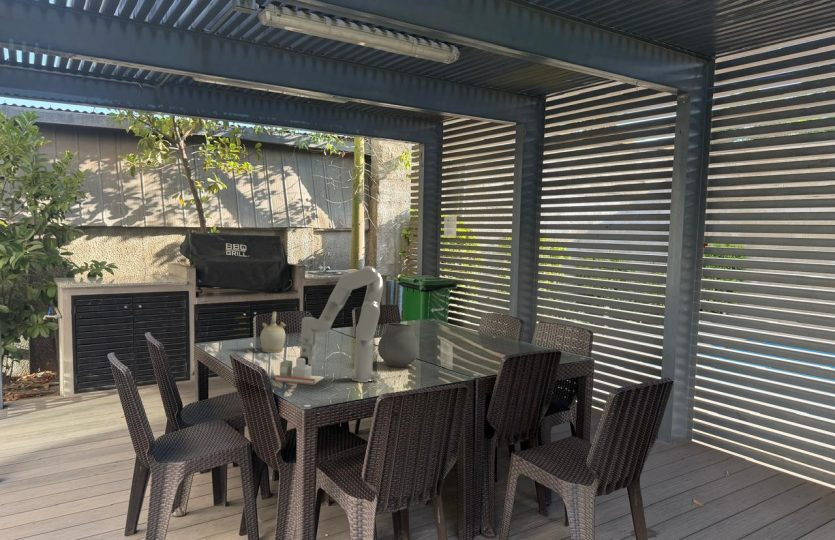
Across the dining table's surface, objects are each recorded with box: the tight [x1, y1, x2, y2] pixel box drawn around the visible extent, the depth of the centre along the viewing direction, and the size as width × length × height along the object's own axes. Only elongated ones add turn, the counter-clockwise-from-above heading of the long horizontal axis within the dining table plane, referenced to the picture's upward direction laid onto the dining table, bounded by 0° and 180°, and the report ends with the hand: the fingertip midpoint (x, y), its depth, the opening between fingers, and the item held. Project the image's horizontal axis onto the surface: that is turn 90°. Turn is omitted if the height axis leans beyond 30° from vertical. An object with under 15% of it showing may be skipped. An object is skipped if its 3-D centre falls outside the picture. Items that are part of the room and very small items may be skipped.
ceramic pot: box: [377, 322, 420, 368], centre depth 337 cm, size 24×24×25 cm
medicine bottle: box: [292, 356, 312, 379], centre depth 292 cm, size 7×7×12 cm
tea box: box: [279, 359, 293, 377], centre depth 294 cm, size 4×6×9 cm, turn 170°
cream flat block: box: [275, 374, 325, 386], centre depth 296 cm, size 20×17×3 cm
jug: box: [259, 311, 287, 354], centre depth 359 cm, size 15×16×25 cm
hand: (306, 375), depth 299 cm, fingers closed
